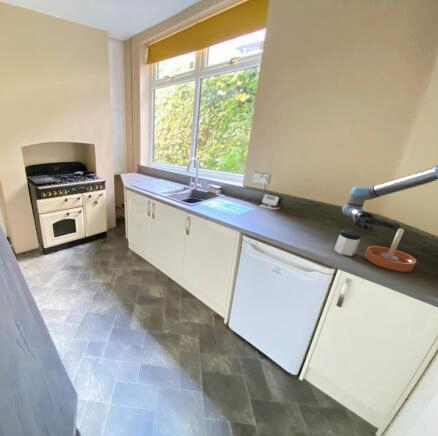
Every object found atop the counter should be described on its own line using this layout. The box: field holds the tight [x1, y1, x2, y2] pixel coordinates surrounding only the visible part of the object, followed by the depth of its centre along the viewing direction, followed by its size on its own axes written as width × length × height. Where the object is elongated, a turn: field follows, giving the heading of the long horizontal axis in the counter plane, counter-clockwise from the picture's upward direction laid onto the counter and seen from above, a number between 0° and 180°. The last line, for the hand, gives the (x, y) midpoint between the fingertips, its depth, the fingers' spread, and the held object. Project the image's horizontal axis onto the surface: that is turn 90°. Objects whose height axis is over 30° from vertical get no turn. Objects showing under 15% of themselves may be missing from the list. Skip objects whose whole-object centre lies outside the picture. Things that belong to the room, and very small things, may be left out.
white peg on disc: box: [380, 227, 405, 262], centre depth 114 cm, size 6×6×18 cm
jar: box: [333, 228, 362, 257], centre depth 125 cm, size 9×8×12 cm
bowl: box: [364, 245, 418, 273], centre depth 117 cm, size 17×17×5 cm
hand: (386, 230), depth 120 cm, fingers open, 13 cm apart
